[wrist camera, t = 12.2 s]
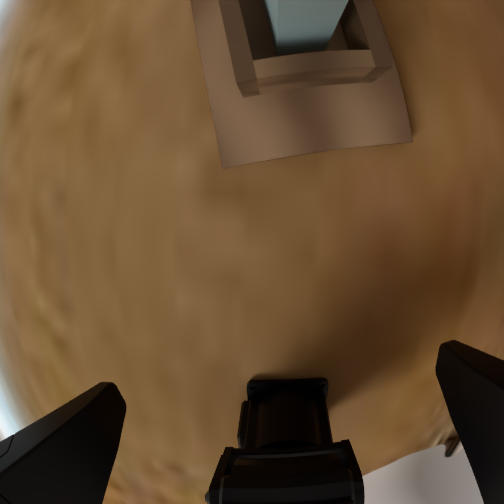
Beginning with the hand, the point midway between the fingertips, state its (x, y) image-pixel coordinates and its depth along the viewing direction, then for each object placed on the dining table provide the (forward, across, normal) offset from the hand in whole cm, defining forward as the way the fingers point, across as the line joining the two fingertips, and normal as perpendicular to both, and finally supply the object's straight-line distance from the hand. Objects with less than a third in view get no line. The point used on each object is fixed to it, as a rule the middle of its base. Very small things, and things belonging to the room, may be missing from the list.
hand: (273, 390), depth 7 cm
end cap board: (+13, -4, -14) cm, 20 cm away
